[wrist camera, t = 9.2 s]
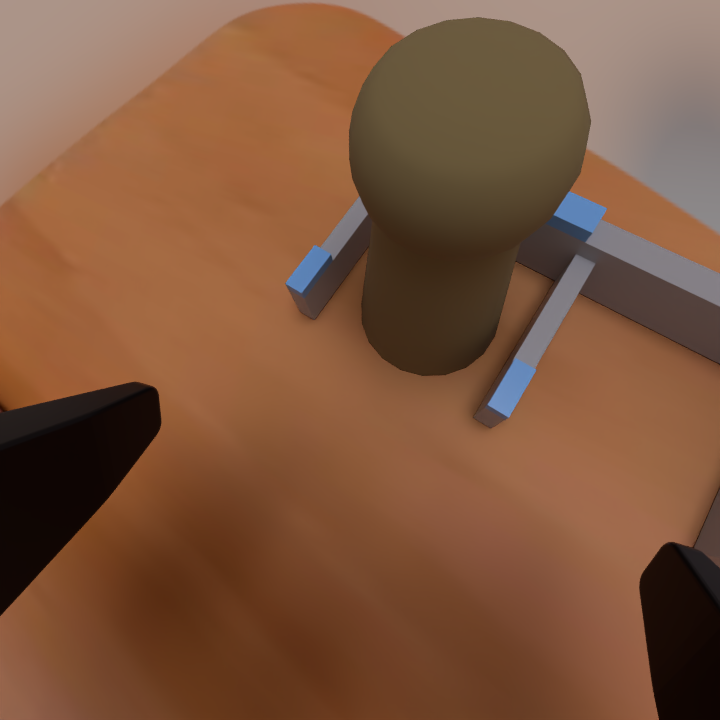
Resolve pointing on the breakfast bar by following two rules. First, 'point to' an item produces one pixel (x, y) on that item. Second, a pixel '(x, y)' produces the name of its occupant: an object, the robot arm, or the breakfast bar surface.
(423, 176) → the cork
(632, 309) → the slotted rack
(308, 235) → the breakfast bar surface
